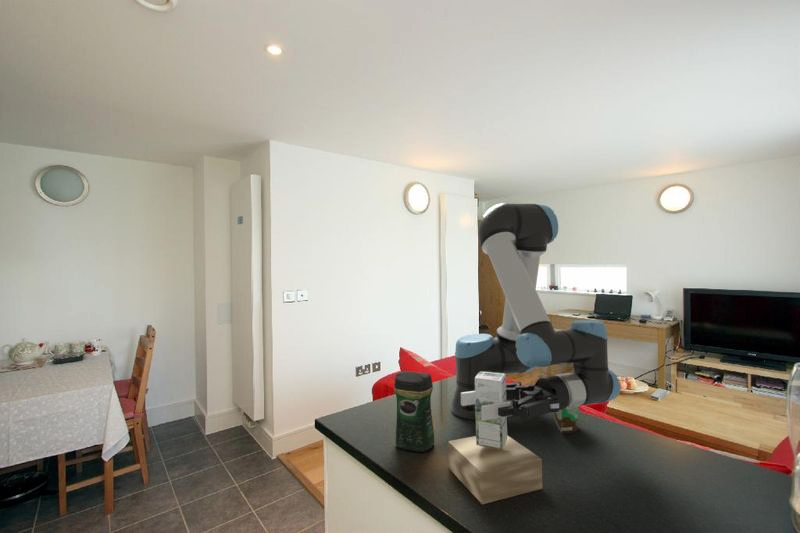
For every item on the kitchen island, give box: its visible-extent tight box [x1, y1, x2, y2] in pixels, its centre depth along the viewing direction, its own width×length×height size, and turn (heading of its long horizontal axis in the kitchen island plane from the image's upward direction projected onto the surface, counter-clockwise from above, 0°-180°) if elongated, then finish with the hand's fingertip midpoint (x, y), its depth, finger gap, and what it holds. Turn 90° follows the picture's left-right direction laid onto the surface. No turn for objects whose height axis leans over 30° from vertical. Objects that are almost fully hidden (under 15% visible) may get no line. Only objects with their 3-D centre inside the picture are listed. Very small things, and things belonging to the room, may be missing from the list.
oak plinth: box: [447, 434, 543, 505], centre depth 80 cm, size 14×14×6 cm
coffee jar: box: [393, 370, 435, 453], centre depth 96 cm, size 10×8×19 cm
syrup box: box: [475, 371, 508, 450], centre depth 80 cm, size 6×6×14 cm
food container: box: [553, 406, 580, 434], centre depth 105 cm, size 12×6×10 cm, turn 168°
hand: (471, 405), depth 79 cm, fingers closed on syrup box, 8 cm apart
